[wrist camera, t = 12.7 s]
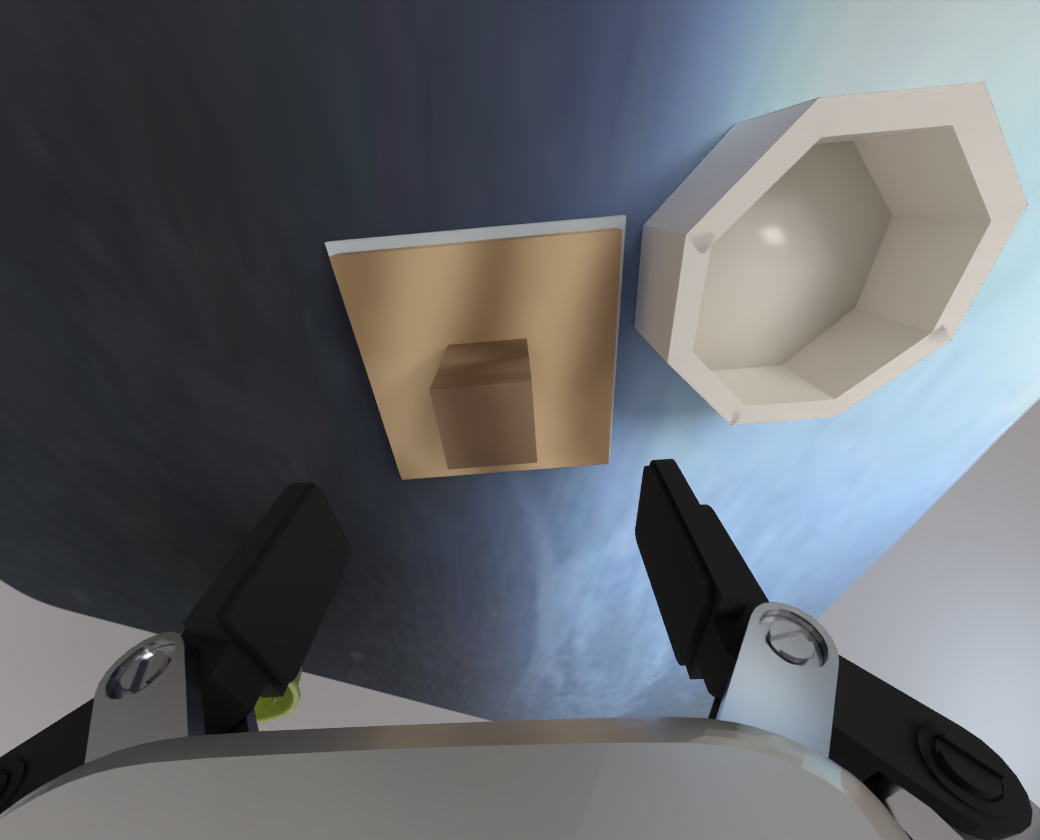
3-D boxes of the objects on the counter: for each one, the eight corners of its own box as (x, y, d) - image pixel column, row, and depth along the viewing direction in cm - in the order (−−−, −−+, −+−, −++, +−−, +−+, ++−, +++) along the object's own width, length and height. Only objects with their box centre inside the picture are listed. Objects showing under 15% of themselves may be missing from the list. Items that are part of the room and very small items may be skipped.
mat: (622, 214, 17) (626, 215, 17) (608, 452, 24) (610, 458, 24) (330, 241, 17) (324, 242, 17) (402, 468, 25) (399, 474, 24)
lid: (615, 227, 17) (663, 242, 12) (604, 452, 24) (631, 525, 18) (339, 253, 17) (264, 278, 12) (406, 467, 24) (377, 544, 19)
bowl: (938, 104, 15) (1103, 70, 11) (832, 368, 22) (910, 411, 17) (651, 132, 16) (704, 108, 11) (628, 385, 22) (657, 430, 18)
